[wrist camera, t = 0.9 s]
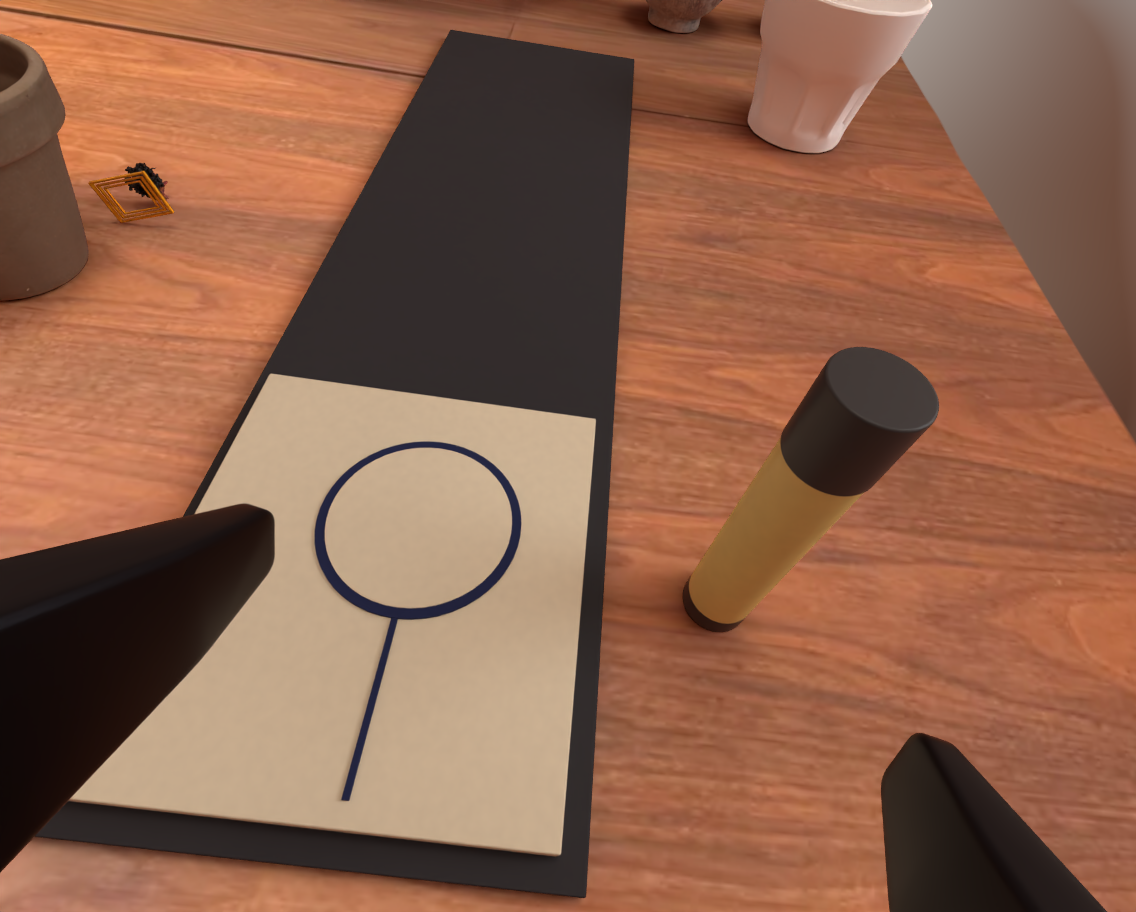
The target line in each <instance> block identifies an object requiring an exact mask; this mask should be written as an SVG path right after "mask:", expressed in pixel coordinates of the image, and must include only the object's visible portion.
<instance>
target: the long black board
mask: <svg viewBox="0 0 1136 912" xmlns="http://www.w3.org/2000/svg"><path fill="white" fill-rule="evenodd" d="M633 74H634V59H629V58H623V57H617V56H610V55H604V54H598V53H592V52H586V51H579V50H573V49H567V48H561V47H554V46H548V45H542V44H536V43H530V42H523V41H517V40H511V39H505V38H498V37H492V36H486V35H480V34H474V33H467V32H461V31H455V30H450V32H449V34H448V36H447V38H446V39H445V41H444V43H443V45H442V47H441V48H440V50H439V52H438V54H437V56H436V58H435V59H434V61H433V63H432V65H431V67H430V68H429V70H428V72H427V74H426V76H425V78H424V79H423V81H422V83H421V85H420V87H419V88H418V90H417V92H416V94H415V96H414V98H413V99H412V101H411V103H410V105H409V107H408V108H407V110H406V112H405V114H404V116H403V118H402V119H401V121H400V123H399V125H398V127H397V128H396V130H395V132H394V134H393V136H392V138H391V139H390V141H389V143H388V145H387V147H386V148H385V150H384V152H383V154H382V156H381V158H380V159H379V161H378V163H377V165H376V167H375V168H374V170H373V172H372V174H371V176H370V178H369V179H368V181H367V183H366V185H365V187H364V188H363V190H362V192H361V194H360V196H359V198H358V199H357V201H356V203H355V205H354V207H353V208H352V210H351V212H350V214H349V216H348V218H347V219H346V221H345V223H344V225H343V227H342V228H341V230H340V232H339V234H338V236H337V238H336V239H335V241H334V243H333V245H332V247H331V248H330V250H329V252H328V254H327V256H326V258H325V259H324V261H323V263H322V265H321V267H320V268H319V270H318V272H317V274H316V276H315V278H314V279H313V281H312V283H311V285H310V287H309V288H308V290H307V292H306V294H305V296H304V298H303V299H302V301H301V303H300V305H299V307H298V308H297V310H296V312H295V314H294V316H293V318H292V319H291V321H290V323H289V325H288V327H287V328H286V330H285V332H284V334H283V336H282V338H281V339H280V341H279V343H278V345H277V347H276V348H275V350H274V352H273V354H272V356H271V358H270V359H269V361H268V363H267V365H266V367H265V368H264V370H263V372H262V374H261V376H260V378H259V379H258V381H257V383H256V385H255V387H254V388H253V390H252V392H251V394H250V396H249V398H248V399H247V401H246V403H245V405H244V407H243V408H242V410H241V412H240V414H239V416H238V418H237V419H236V421H235V423H234V425H233V427H232V428H231V430H230V432H229V434H228V436H227V438H226V439H225V441H224V443H223V445H222V447H221V448H220V450H219V452H218V454H217V456H216V458H215V459H214V461H213V463H212V465H211V467H210V468H209V470H208V472H207V474H206V476H205V478H204V479H203V481H202V483H201V485H200V487H199V488H198V490H197V492H196V494H195V496H194V498H193V499H192V501H191V503H190V505H189V507H188V509H187V510H186V512H185V514H184V516H183V517H185V516H189V515H194V514H198V513H202V512H207V511H211V510H215V509H219V508H224V507H228V506H232V505H237V504H241V503H246V504H251V505H254V506H257V507H260V508H263V509H266V510H268V511H270V512H271V513H272V514H273V516H274V520H275V558H274V563H273V566H272V568H271V570H270V572H269V573H268V575H267V576H266V578H265V579H264V580H263V581H262V583H261V584H260V585H259V587H258V588H257V589H256V590H255V592H254V593H253V594H252V596H251V597H250V598H249V599H248V601H247V602H246V603H245V605H244V606H243V607H242V608H241V610H240V611H239V612H238V614H237V615H236V616H235V617H234V619H233V620H232V621H231V623H230V624H229V625H228V626H227V628H226V629H225V630H224V632H223V633H222V634H221V635H220V637H219V638H218V639H217V641H216V642H215V643H214V644H213V646H212V647H211V648H210V649H209V651H208V652H207V653H206V654H205V655H204V657H203V658H202V659H201V660H200V661H199V663H198V664H197V665H196V666H195V667H194V668H193V669H192V670H191V671H190V672H189V674H188V675H187V676H186V677H185V678H184V679H183V680H182V681H181V682H180V683H179V684H178V685H177V686H176V687H175V688H174V690H173V691H172V692H171V693H170V694H169V695H168V696H167V697H166V698H165V699H164V700H163V701H162V702H161V703H160V704H159V705H158V706H157V707H156V709H155V710H154V711H153V712H152V713H151V714H150V715H149V716H148V717H147V718H146V719H145V720H144V721H143V722H142V723H141V724H140V725H139V727H138V728H137V729H136V730H135V731H134V732H133V733H132V734H131V735H130V736H129V737H128V738H127V739H126V740H125V741H124V742H123V743H122V744H121V746H120V747H119V748H118V749H117V750H116V751H115V752H114V753H113V754H112V755H111V756H110V757H109V758H108V759H107V760H106V761H105V762H104V763H103V765H102V766H101V767H100V768H99V769H98V770H97V771H96V772H95V773H94V774H93V775H92V776H91V777H90V778H89V779H88V780H87V781H86V783H85V784H84V785H83V786H82V787H81V788H80V789H79V790H78V791H77V792H76V793H75V794H74V795H73V796H72V797H71V798H70V799H69V800H68V802H67V803H66V804H65V805H64V806H63V807H62V808H61V809H60V810H59V811H58V812H57V813H56V814H55V815H54V816H53V817H52V818H51V820H50V821H49V822H48V823H47V824H46V825H45V826H44V827H43V828H42V829H41V830H40V831H39V832H38V833H37V834H36V835H35V836H34V837H43V838H52V839H61V840H70V841H79V842H88V843H96V844H105V845H114V846H123V847H132V848H141V849H150V850H159V851H168V852H177V853H186V854H195V855H204V856H213V857H222V858H231V859H239V860H248V861H257V862H266V863H275V864H284V865H293V866H302V867H311V868H320V869H329V870H338V871H347V872H356V873H365V874H374V875H382V876H391V877H400V878H409V879H418V880H427V881H436V882H445V883H454V884H463V885H472V886H481V887H490V888H499V889H508V890H517V891H525V892H534V893H543V894H552V895H561V896H570V897H579V898H585V897H586V888H587V870H588V853H589V836H590V819H591V801H592V784H593V767H594V749H595V732H596V715H597V697H598V680H599V663H600V645H601V628H602V611H603V593H604V576H605V559H606V541H607V524H608V507H609V489H610V472H611V455H612V437H613V420H614V403H615V385H616V368H617V351H618V333H619V316H620V299H621V281H622V264H623V247H624V230H625V212H626V195H627V178H628V160H629V143H630V126H631V108H632V91H633Z"/></svg>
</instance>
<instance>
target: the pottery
mask: <svg viewBox="0 0 1136 912" xmlns="http://www.w3.org/2000/svg"><path fill="white" fill-rule="evenodd" d="M721 1H722V0H646V2H647V3H648V4H649V13H648V20H649V22H650V23H652V24H653V25H655V26H657V27H659V28H662V29H665V30H667V31H671V32H676V33H689V32H693V31H695V30H697V29H698V27H699V23H700V19H701V17H702V16H704V15H706V14H707V13H709V12H710V11H711V10H713V9H714V8H715V7H716V6H717V5H718V4H719V3H720V2H721Z"/></svg>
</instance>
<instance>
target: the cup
mask: <svg viewBox="0 0 1136 912" xmlns="http://www.w3.org/2000/svg"><path fill="white" fill-rule="evenodd" d="M931 8H932V3H931V0H765V4H764V9H763V15H762V20H761V26H760V35H761V38H762V48H761V54H760V60H759V66H758V72H757V77H756V83H755V89H754V95H753V101H752V104H751V108H750V111H749V114H748V124H749V126H750V128H751V129H752V130H753V132H754V133H755V134H756V135H758V136H759V137H760V138H762V139H763V140H765V141H766V142H768V143H771V144H773V145H775V146H777V147H780V148H782V149H786V150H790V151H795V152H800V153H821V152H825V151H828V150H831V149H833V148H834V147H835V146H836V145H837V144H838V143H839V141H840V139H841V137H842V135H843V133H844V131H845V129H846V128H847V126H848V125H849V123H850V122H851V120H852V119H853V117H854V116H855V114H856V113H857V111H858V110H859V108H860V107H861V105H862V104H863V102H864V101H865V99H866V98H867V97H868V95H869V94H870V92H871V91H872V89H873V88H874V86H875V85H876V83H877V82H878V80H879V79H880V78H881V77H882V76H883V75H884V74H885V73H886V72H887V71H888V70H889V69H890V68H891V67H892V66H893V65H894V64H896V62H897V61H898V59H899V58H900V56H901V55H902V53H903V51H904V50H905V48H906V47H907V45H908V44H909V42H910V40H911V39H912V37H913V36H914V34H915V33H916V31H917V30H918V28H919V26H920V25H921V23H922V21H923V20H924V18H925V17H926V16H927V14H928V12H929V11H930V9H931Z"/></svg>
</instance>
